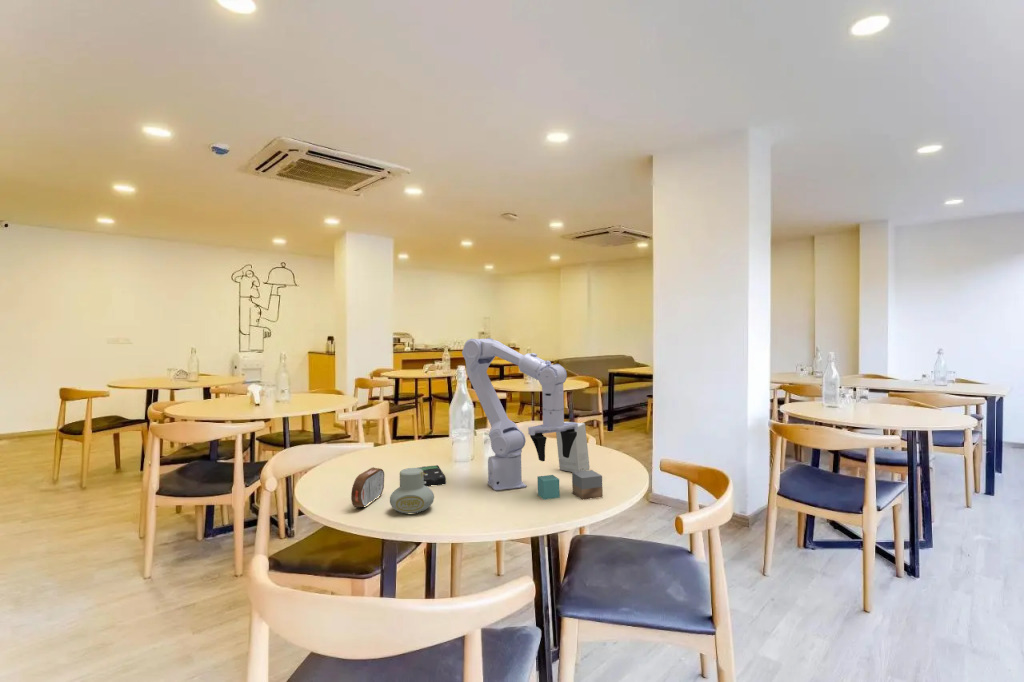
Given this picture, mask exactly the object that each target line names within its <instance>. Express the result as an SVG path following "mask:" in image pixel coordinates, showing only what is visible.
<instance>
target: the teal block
mask: <svg viewBox="0 0 1024 682" xmlns="http://www.w3.org/2000/svg"><path fill="white" fill-rule="evenodd" d="M537 495H538V496H539V497H540V498H541V499H542V500H544V501H545V500H551V499H552V500H553V499H558V498H560V495H561V494H560V478H558V477H556V476H555V475H554V474H547V475H540V476H537Z"/></svg>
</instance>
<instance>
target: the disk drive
mask: <svg viewBox="0 0 1024 682" xmlns="http://www.w3.org/2000/svg"><path fill="white" fill-rule="evenodd" d="M418 468H420V469H422V470H423V477H424V485H425V486H428V487H432V486H431V485H437V486H443V485H442V484H447V477H446V475H445V474H444V473H443V470H441V468H440V466H439V465H437V464H436V465H427V466H421V467H418Z"/></svg>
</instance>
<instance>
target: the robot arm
mask: <svg viewBox="0 0 1024 682" xmlns="http://www.w3.org/2000/svg"><path fill="white" fill-rule="evenodd" d="M461 354H462V356H463V359H464V360H465V368H466V369H465V370H466V375H467V377H468V379H469V381H470V384H471V386H472V388H473V390H474V392H475V394H476V396H477V398H478V401H479V403H480V405H481V408H482V409H483V412H484V415H485V416H486V419H487V420H488V423H489V424H490V431H489V432H488V437H489V440H490V447H491V450H492V452H493V453H494V455H493V456H492V455H491V456H489V457H488V460H487V476H488V477H487V484H488V485H489V486H490V487H491V488H492V489H493V490H494V491H504V490H513V489H520V488H527V484H525V483H524V481H523V480H522V452H523V448H524V447H525V445H526V441H527V440H526V436H525V434H524V432H523V431H522V430H520V428H518V425H517V424H516V423H515V422H514V421H513V420H511V419H509V417H508V414H507V413H506V411H505V408H504V407H503V405H502V403H501V402H502V401H501V400H500V398H499V396H498V394H497V392H496V390H495V387H494V385H493V383H492V381H491V378H490V377H489V374H488V368H489V366H490V365H491V363H492V362H493V361H494V360H495V358H496V357H498V358H499V359H502V360H504V361H506V362H509V363H511V364H513V365H516V366H518V370H519V371H520V373H522V374H525V375H527V376H529V377H531V378H532V379H535V380H537V381H538V382H539V384H540V385H541V391H542V424H539V425H535V426H528V428H527V432H528V435H529V437H530V439H531V441H532V443H533V445H534V448H535V449H536V453H537V458H538V460H539V461H540V462H545V461H546V460H545V459H546V444H547V443H546V442H547V439H548V437H547V436H544V434H551V433H556V432H560V433H561V438H562V450H563V457H566V458H569V455H570V450H571V447H572V444H573V442H574V440H575V438H576V436H577V432H575V431H574V430H578V423H579V422H574V421H571V422H572V423H564V422H565V412H564V411H565V405H564V403H565V402H564V394H565V393H564V383H565V382H566V380H567V377H568V374H567V370H566V368H564V366H562V365H561V364H559V363H555V364H552V361H550V360H548V359H547V360H544V359H542V358H540V357H538V354H537V353H535V352H531V353H529V352H527V353H526V354H522V353H520V352H519V351H517V350H514V348H511V347H509V346H507V345H505V344H504V343H502V342H501V341H499V340H495V339H493V338H491V337H488V338H486V337H485V338H469V339H467V340H466V341H465V343H464V345H463V348H462V352H461Z"/></svg>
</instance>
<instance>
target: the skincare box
mask: <svg viewBox="0 0 1024 682" xmlns="http://www.w3.org/2000/svg"><path fill="white" fill-rule="evenodd" d="M572 422H573V421H564V423H572ZM577 423H578V430H574V431H575V432H577V436H576V438H575V440H574V442H573V444H572V447H571V450H570V455H569V458H566V457H563V450H562V438H561V433H560V432H555V435H556V444H557V445H556V446H557V458H558V465H559V466H558V467H559V471H566V472H570V473H572V472H579V471H588V470H590V467H591V466H590V457H589V448H588V439H587V431H586V430H587V429H586V428H587V427H586V423H584V422H577Z"/></svg>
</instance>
